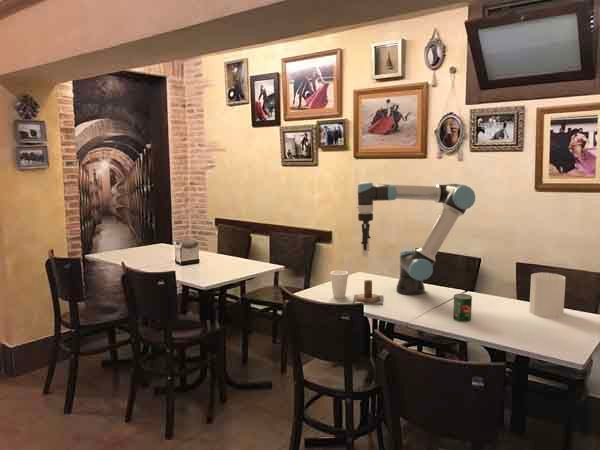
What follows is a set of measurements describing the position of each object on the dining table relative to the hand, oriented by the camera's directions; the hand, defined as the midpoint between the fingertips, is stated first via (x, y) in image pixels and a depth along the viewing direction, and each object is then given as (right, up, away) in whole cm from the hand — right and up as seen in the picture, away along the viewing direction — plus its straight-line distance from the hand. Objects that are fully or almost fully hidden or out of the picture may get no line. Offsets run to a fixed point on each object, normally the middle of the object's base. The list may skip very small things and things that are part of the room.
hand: (366, 253), depth 261 cm
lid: (+1, -24, +3) cm, 24 cm away
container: (+82, -27, -22) cm, 89 cm away
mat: (+2, -24, +3) cm, 25 cm away
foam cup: (-13, -24, +11) cm, 29 cm away
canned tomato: (+40, -29, -29) cm, 57 cm away
